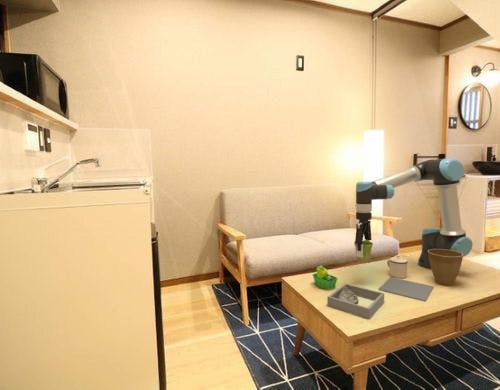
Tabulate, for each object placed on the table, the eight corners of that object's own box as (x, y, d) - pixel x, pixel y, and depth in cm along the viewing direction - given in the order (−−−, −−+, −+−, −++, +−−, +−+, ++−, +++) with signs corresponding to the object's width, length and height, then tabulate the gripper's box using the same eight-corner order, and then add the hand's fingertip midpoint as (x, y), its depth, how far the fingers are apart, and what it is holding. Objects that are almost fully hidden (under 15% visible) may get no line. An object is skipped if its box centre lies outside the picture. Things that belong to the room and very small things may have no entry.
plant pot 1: (377, 260, 144) (377, 243, 143) (362, 263, 140) (363, 246, 139) (363, 255, 152) (363, 239, 152) (349, 258, 149) (349, 242, 148)
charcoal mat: (390, 277, 153) (390, 276, 153) (433, 287, 140) (433, 286, 140) (378, 289, 138) (378, 288, 138) (425, 301, 125) (425, 300, 125)
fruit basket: (338, 287, 142) (338, 266, 141) (326, 292, 138) (326, 269, 137) (322, 280, 152) (322, 260, 151) (309, 284, 147) (309, 263, 146)
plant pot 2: (460, 280, 147) (462, 250, 146) (462, 290, 135) (464, 258, 134) (427, 275, 156) (428, 247, 154) (426, 284, 143) (427, 253, 142)
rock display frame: (345, 291, 138) (345, 283, 137) (384, 301, 126) (384, 293, 125) (327, 305, 124) (327, 296, 123) (369, 319, 112) (369, 309, 111)
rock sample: (328, 294, 126) (342, 281, 127) (333, 299, 131) (346, 286, 132) (345, 312, 119) (360, 298, 119) (349, 317, 124) (363, 303, 124)
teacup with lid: (411, 277, 153) (411, 256, 152) (398, 279, 151) (398, 258, 150) (393, 270, 165) (394, 250, 164) (381, 272, 162) (381, 252, 161)
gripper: (364, 208, 155) (363, 248, 157) (347, 214, 138) (347, 258, 140) (378, 209, 150) (377, 250, 152) (363, 215, 133) (363, 261, 135)
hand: (363, 254), depth 146 cm, fingers closed on plant pot 1, 9 cm apart
